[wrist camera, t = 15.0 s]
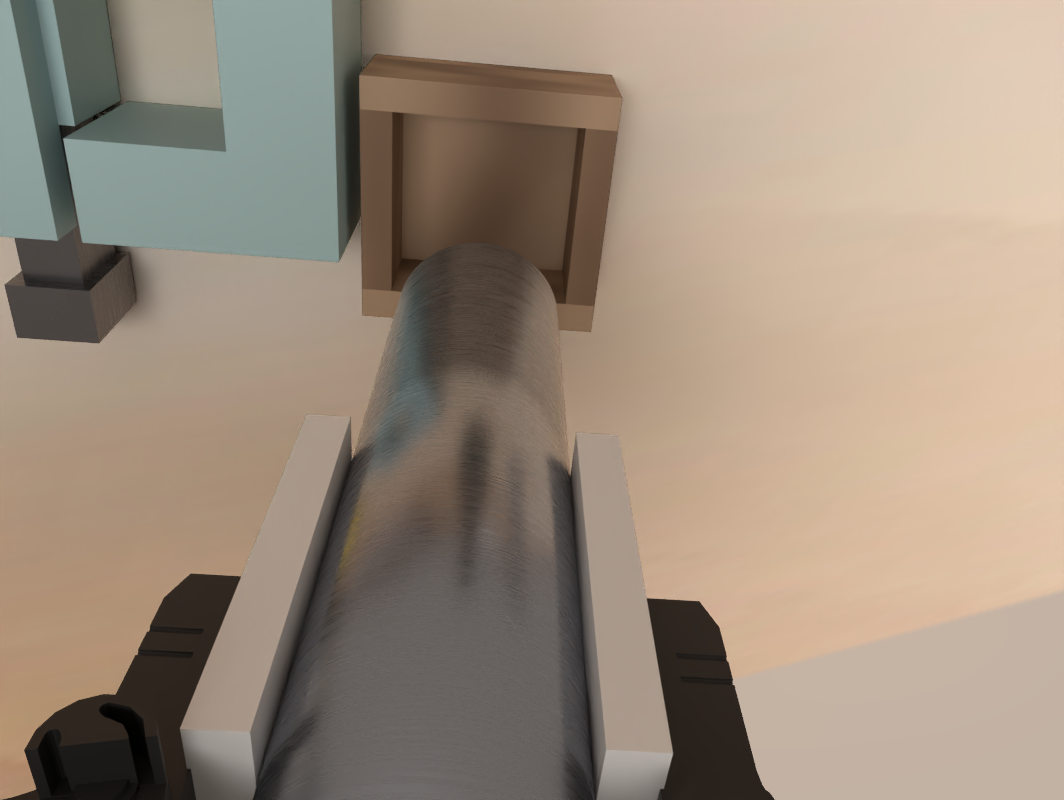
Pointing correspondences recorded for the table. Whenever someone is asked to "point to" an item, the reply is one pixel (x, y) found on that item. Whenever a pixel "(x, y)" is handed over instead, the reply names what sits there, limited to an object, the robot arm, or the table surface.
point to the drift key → (69, 284)
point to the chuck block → (185, 134)
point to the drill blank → (448, 565)
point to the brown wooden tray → (485, 172)
